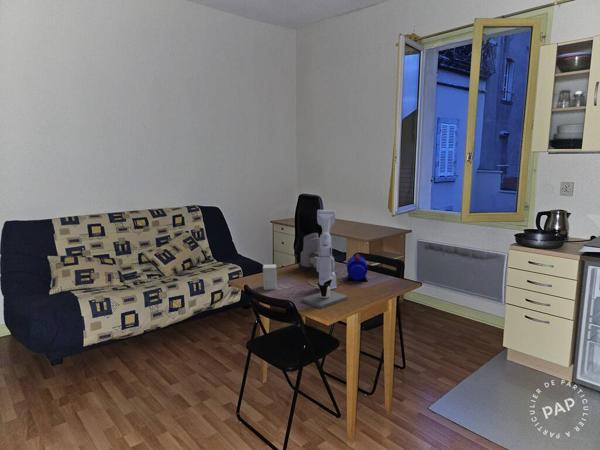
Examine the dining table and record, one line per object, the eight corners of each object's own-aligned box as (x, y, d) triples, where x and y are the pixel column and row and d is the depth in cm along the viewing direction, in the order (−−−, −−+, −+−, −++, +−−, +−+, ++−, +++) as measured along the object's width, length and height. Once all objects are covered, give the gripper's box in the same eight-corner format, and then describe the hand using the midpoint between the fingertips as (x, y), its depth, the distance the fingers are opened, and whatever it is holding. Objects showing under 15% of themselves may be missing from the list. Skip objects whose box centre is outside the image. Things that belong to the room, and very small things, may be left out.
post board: (328, 292, 226) (328, 283, 225) (348, 298, 215) (348, 289, 215) (301, 301, 212) (301, 291, 211) (320, 308, 202) (320, 298, 201)
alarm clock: (366, 276, 255) (367, 252, 252) (368, 282, 243) (368, 257, 240) (346, 276, 256) (347, 252, 253) (346, 282, 244) (347, 257, 241)
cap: (319, 294, 216) (319, 285, 215) (328, 294, 216) (328, 285, 215) (320, 298, 211) (320, 288, 210) (330, 297, 211) (330, 288, 211)
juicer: (292, 267, 276) (292, 231, 272) (312, 263, 285) (312, 228, 281) (319, 278, 251) (319, 238, 247) (340, 274, 260) (340, 235, 256)
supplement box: (276, 285, 238) (276, 264, 235) (276, 289, 230) (276, 267, 228) (263, 285, 237) (263, 264, 235) (263, 289, 230) (262, 267, 228)
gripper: (329, 273, 203) (329, 300, 205) (335, 265, 217) (335, 290, 219) (315, 272, 205) (315, 298, 207) (322, 264, 219) (322, 289, 221)
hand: (324, 294), depth 213 cm, fingers closed on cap, 5 cm apart
